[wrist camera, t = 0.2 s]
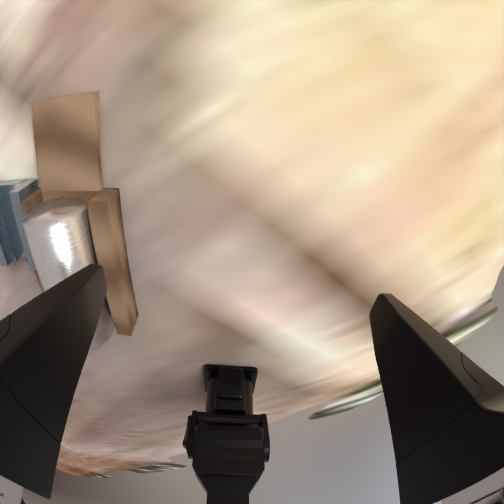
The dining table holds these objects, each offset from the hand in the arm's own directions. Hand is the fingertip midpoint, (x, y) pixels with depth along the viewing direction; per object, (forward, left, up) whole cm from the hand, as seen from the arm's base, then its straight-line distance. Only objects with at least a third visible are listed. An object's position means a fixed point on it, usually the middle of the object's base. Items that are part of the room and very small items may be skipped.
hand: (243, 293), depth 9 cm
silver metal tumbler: (-10, +15, -14) cm, 22 cm away
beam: (-6, +15, -14) cm, 21 cm away
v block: (-6, +22, -14) cm, 26 cm away
